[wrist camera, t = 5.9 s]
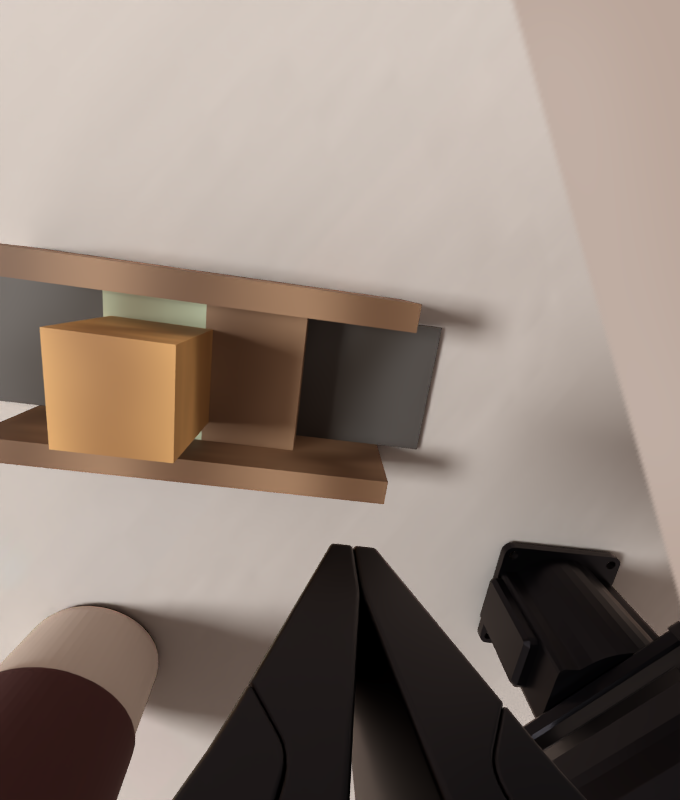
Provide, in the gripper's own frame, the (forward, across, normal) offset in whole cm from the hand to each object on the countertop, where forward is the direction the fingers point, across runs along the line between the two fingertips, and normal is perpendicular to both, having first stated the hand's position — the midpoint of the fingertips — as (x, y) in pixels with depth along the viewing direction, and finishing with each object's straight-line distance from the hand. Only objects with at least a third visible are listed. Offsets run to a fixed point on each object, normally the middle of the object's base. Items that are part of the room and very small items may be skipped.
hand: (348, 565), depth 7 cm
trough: (+12, +6, -1) cm, 13 cm away
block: (+10, +7, 0) cm, 12 cm away
